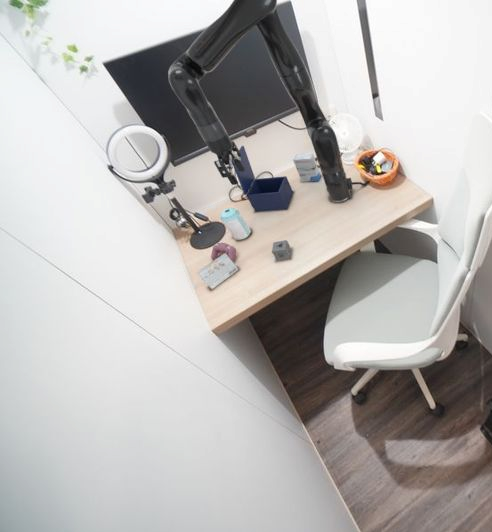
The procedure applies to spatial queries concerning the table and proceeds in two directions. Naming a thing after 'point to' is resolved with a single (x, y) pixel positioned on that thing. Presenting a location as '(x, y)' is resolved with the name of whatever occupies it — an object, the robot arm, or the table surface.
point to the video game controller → (223, 251)
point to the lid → (244, 172)
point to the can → (235, 223)
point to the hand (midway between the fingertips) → (238, 177)
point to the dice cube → (281, 250)
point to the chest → (270, 194)
